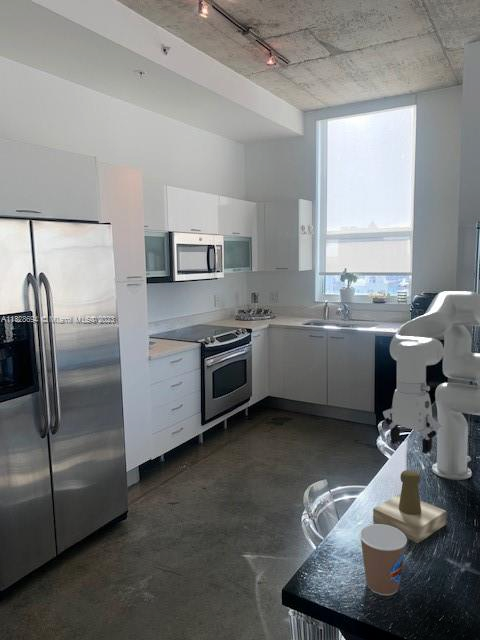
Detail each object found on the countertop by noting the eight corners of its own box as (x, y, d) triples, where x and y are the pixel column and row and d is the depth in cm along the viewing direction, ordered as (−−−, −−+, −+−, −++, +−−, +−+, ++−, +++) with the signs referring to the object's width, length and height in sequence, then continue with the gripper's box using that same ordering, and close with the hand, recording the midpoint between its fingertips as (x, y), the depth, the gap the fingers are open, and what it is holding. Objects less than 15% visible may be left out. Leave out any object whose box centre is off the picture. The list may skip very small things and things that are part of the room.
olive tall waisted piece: (422, 515, 131) (423, 477, 130) (399, 513, 133) (400, 475, 131) (419, 505, 137) (420, 468, 136) (397, 503, 139) (397, 466, 137)
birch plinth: (401, 505, 145) (401, 493, 145) (445, 524, 134) (446, 510, 134) (373, 521, 136) (373, 508, 136) (417, 543, 125) (418, 528, 125)
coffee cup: (399, 607, 102) (400, 554, 101) (352, 591, 108) (352, 540, 107) (410, 580, 111) (411, 531, 110) (367, 566, 117) (367, 519, 115)
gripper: (448, 390, 126) (447, 452, 129) (391, 379, 140) (391, 435, 142) (433, 396, 122) (432, 460, 124) (376, 383, 135) (376, 442, 137)
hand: (410, 447), depth 133 cm, fingers open, 9 cm apart
